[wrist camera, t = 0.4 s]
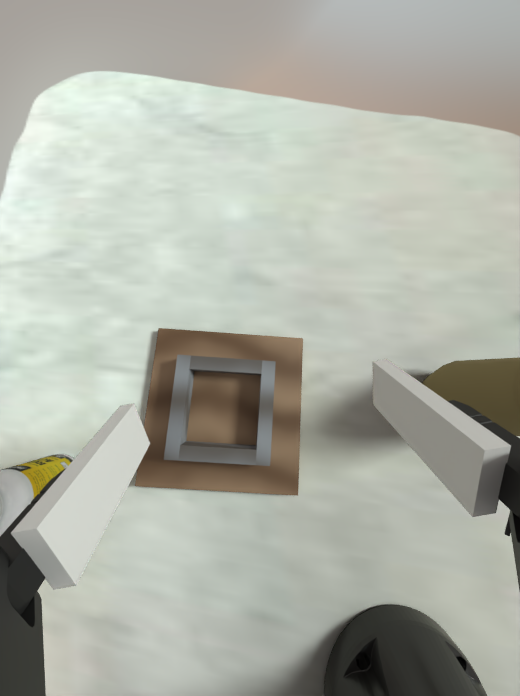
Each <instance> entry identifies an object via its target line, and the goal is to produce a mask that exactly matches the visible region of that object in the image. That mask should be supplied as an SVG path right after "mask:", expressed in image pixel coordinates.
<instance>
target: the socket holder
mask: <svg viewBox="0 0 520 696" xmlns="http://www.w3.org/2000/svg"><path fill="white" fill-rule="evenodd" d="M302 350H303V339H302V338H288V337H274V336H260V335H246V334H232V333H218V332H204V331H190V330H176V329H162V328H159V330H158V337H157V343H156V350H155V357H154V363H153V370H152V376H151V383H150V390H149V396H148V403H147V410H146V416H145V423H144V429H145V432H146V434H147V437H148V439H149V442H150V445H149V447H148V449H147V451H146V453H145V455H144V457H143V458H142V460H141V462H140V464H139V466H138V470H137V476H136V483H135V486H142V487H160V488H177V489H194V490H212V491H229V492H247V493H264V494H282V495H298V478H299V446H300V414H301V382H302Z"/></svg>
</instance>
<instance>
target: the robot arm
mask: <svg viewBox="0 0 520 696" xmlns="http://www.w3.org/2000/svg"><path fill="white" fill-rule="evenodd" d="M373 405H374V406H375V407H376V408H377V410H378V411H379V412H380V413H381V414H382V415H383V416H384V417H385V419H386V420H387V421H388V422H389V423H390V424H391V425H392V427H393V428H394V429H395V430H396V431H397V432H398V433H399V434H400V436H401V437H402V438H403V439H404V440H405V441H406V442H407V443H408V445H409V446H410V447H411V448H412V449H413V450H414V451H415V452H416V454H417V455H418V456H419V457H420V458H421V459H422V460H423V462H424V463H425V464H426V465H427V466H428V467H429V468H430V469H431V471H432V472H433V473H434V474H435V475H436V476H437V477H438V478H439V480H440V481H441V482H442V483H443V484H444V485H445V486H446V488H447V489H448V490H449V491H450V492H451V493H452V494H453V495H454V497H455V498H456V499H457V500H458V501H459V502H460V503H461V504H462V506H463V507H464V508H465V509H466V510H467V511H468V512H469V514H470V515H471V516H472V517H475V516H481V515H487V514H493V513H496V510H497V506H498V501H499V500H501V501H502V502H503V503H504V504H505V505H506V506H507V507H508V508H509V509H510V514H509V518H508V522H507V526H506V530H505V535H508V536H510V533H511V536H512V543H513V549H514V556H515V563H516V569H517V576H518V583H519V590H520V438H518V437H517V436H515V435H513V434H512V433H510V432H509V431H507V430H506V429H504V428H503V427H501V426H500V425H498V424H497V423H495V422H492V420H490V419H489V418H487V417H486V416H484V415H483V416H482V414H481V413H480V412H478V411H477V410H475V409H473V408H472V407H470V406H469V405H466V404H463V403H461V402H458V401H456V400H450V401H446V400H445V399H443V398H442V397H441V396H439V395H438V394H436V393H435V392H433V391H432V390H430V389H429V388H428V387H426V386H425V385H423V384H422V383H420V382H419V381H418V380H416V379H415V378H413V377H412V376H410V375H409V374H408V373H406V372H405V371H403V370H402V369H400V368H399V367H398V366H396V365H395V364H393V363H392V362H390V361H389V360H387V359H383V360H377V361H373ZM149 445H150V442H149V439H148V437H147V434H146V432H145V429H144V427H143V424H142V422H141V419H140V417H139V414H138V412H137V409H136V407H135V404H134V403H133V404H128V405H122V406H120V407H119V408H118V409H117V410H116V411H115V413H114V414H113V415H112V416H111V417H110V418H109V419H108V421H107V422H106V423H105V424H104V425H103V426H102V428H101V429H100V430H99V431H98V432H97V433H96V435H95V436H94V437H93V438H92V439H91V440H90V442H89V443H88V444H87V445H86V446H85V447H84V448H83V450H82V451H81V452H80V453H79V454H78V455H77V457H76V458H75V459H74V460H73V461H72V462H71V464H70V465H69V466H68V467H67V468H66V469H64V470H62V471H61V472H60V473H59V474H57V475H56V476H55V477H53V478H52V479H51V480H50V481H49V482H48V483H47V484H46V485H45V487H44V488H43V489H42V490H41V491H40V494H37V496H36V497H35V498H34V499H33V500H32V501H31V504H29V505H28V506H27V507H26V508H25V509H24V510H23V511H22V512H21V514H20V515H19V516H18V517H17V518H16V519H15V520H14V521H13V523H12V524H11V525H10V526H9V527H8V528H7V529H6V530H5V532H4V533H3V534H2V535H1V536H0V696H46V694H45V672H44V649H43V626H42V604H41V597H40V595H39V593H38V592H37V590H38V589H39V587H40V586H41V584H42V582H43V581H44V579H46V580H47V582H48V583H49V584H50V586H51V587H52V588H53V590H54V589H60V588H66V587H71V586H76V585H77V583H78V581H79V580H80V578H81V576H82V574H83V572H84V570H85V568H86V566H87V564H88V562H89V560H90V558H91V557H92V555H93V553H94V551H95V549H96V547H97V545H98V543H99V541H100V539H101V537H102V535H103V533H104V532H105V530H106V528H107V526H108V524H109V522H110V520H111V518H112V516H113V514H114V512H115V510H116V508H117V507H118V505H119V503H120V501H121V499H122V497H123V495H124V493H125V491H126V489H127V487H128V485H129V483H130V482H131V480H132V478H133V476H134V474H135V472H136V470H137V468H138V466H139V464H140V462H141V460H142V458H143V457H144V455H145V453H146V451H147V449H148V447H149ZM324 695H325V696H487V694H486V692H485V690H484V688H483V686H482V684H481V682H480V680H479V678H478V676H477V674H476V673H475V671H474V669H473V667H472V666H471V664H470V663H469V661H468V660H467V658H466V657H465V655H464V654H463V653H462V651H461V650H460V649H459V648H458V646H457V645H456V644H455V643H454V642H453V640H452V639H451V638H450V637H449V636H448V634H447V633H446V632H445V631H444V630H443V629H442V628H441V627H440V626H439V625H438V624H437V623H436V622H435V621H434V620H432V619H431V618H430V617H428V616H427V615H425V614H423V613H422V612H420V611H417V610H415V609H412V608H409V607H406V606H400V605H385V606H379V607H376V608H373V609H370V610H368V611H366V612H364V613H362V614H361V615H359V616H358V617H356V618H355V619H354V620H353V621H352V622H351V623H350V624H349V625H348V626H347V627H346V628H345V629H344V631H343V632H342V633H341V635H340V636H339V638H338V640H337V641H336V643H335V645H334V647H333V650H332V652H331V655H330V658H329V661H328V665H327V670H326V676H325V688H324Z"/></svg>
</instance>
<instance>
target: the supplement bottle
mask: <svg viewBox="0 0 520 696" xmlns="http://www.w3.org/2000/svg"><path fill="white" fill-rule="evenodd" d="M73 460H74V458H73V457H71V456H69V455H65V454H57V455H52V456H48V457H45V458H41V459H38V460H34V461H31V462H27V463H24V464H21V465H17V466H13V467H10V468H6V469H2V470H0V536H1V535H2V534H3V533H4V532H5V530H6V529H7V528H8V527H9V526H10V525H11V524H12V523H13V521H14V520H15V519H16V518H17V517H18V516H19V515H20V514H21V512H22V511H23V510H24V509H25V508H26V507H27V506H28V505H29V504H31V501H32V500H33V499H34V498H35V497H36V496H37V494H40V491H41V490H42V489H43V488H44V487H45V485H46V484H47V483H48V482H49V481H50V480H51V479H52V478H53V477H55V476H56V475H57V474H59V473H60V472H61V471H62V470H64V469H66V468H67V467H68V466H69V465H70V464H71V462H72V461H73Z"/></svg>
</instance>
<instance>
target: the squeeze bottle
mask: <svg viewBox="0 0 520 696" xmlns="http://www.w3.org/2000/svg"><path fill="white" fill-rule="evenodd" d="M422 384H423V385H425V386H426V387H428V388H429V389H430V390H432V391H433V392H435V393H436V394H438V395H439V396H441V397H442V398H443V399H445V400H446V401H450V400H456V401H458V402H461V403H463V404H466V405H469V406H470V407H472V408H473V409H475V410H477V411H478V412H480V413H481V414H482V416H483V415H484V416H486V417H487V418H489V419H490V420H492V422H495V423H497V424H498V425H500V426H501V427H503V428H504V429H506V430H507V431H509V432H510V433H512V434H513V435H515V436H520V358H504V359H485V360H466V361H454V362H451V363H449V364H446V365H443V366H442V367H440V368H439V369H438V370H436V371H435V372H433V373H432V374H431V375H429V376H428V377H427V378H426V379H425V380H424V381H423V382H422Z"/></svg>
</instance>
